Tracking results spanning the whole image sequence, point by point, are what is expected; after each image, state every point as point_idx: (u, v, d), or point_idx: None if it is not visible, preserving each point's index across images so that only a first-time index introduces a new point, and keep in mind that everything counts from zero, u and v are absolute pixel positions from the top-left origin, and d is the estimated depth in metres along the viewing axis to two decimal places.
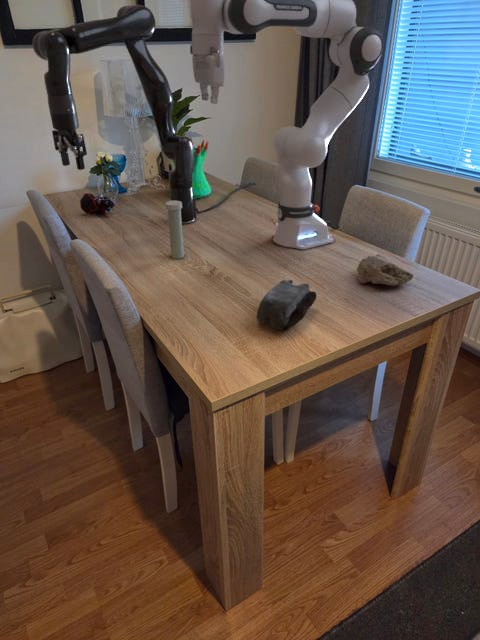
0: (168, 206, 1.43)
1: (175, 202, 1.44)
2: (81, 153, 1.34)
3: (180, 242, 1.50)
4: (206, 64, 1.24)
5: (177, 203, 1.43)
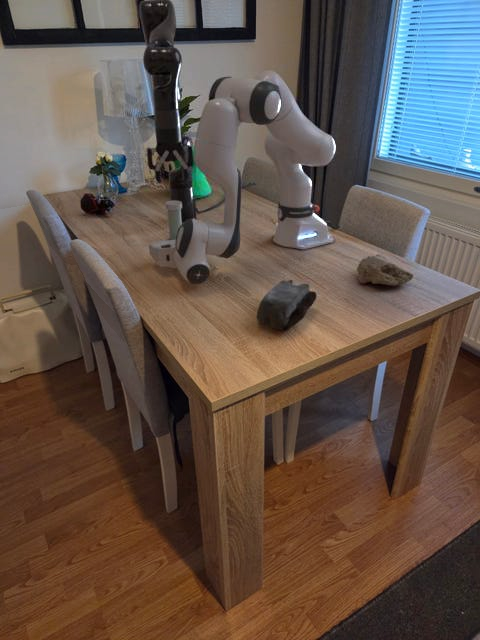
0: (168, 206, 1.43)
1: (175, 202, 1.44)
2: None
3: None
4: None
5: (177, 203, 1.43)
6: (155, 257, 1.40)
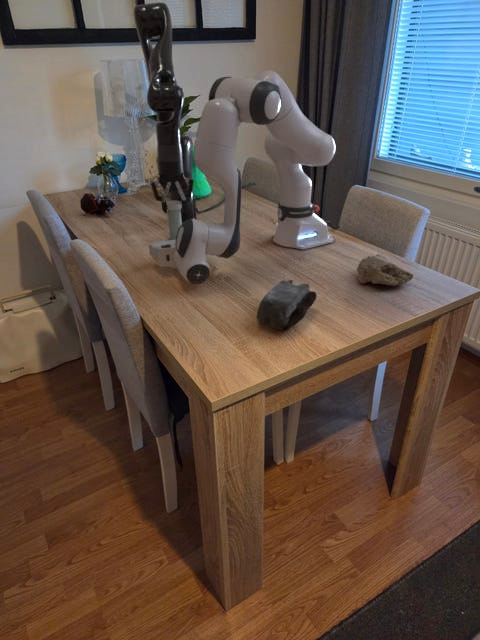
0: (168, 206, 1.43)
1: (175, 202, 1.44)
2: None
3: None
4: None
5: (177, 203, 1.43)
6: (155, 257, 1.40)
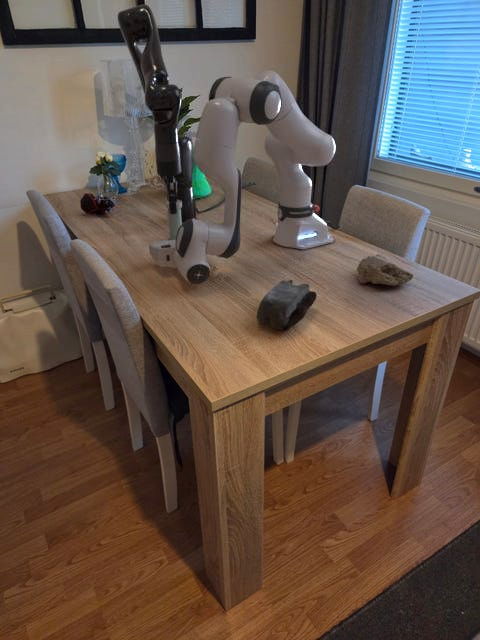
0: (181, 204, 1.43)
1: None
2: None
3: None
4: None
5: None
6: (155, 257, 1.40)
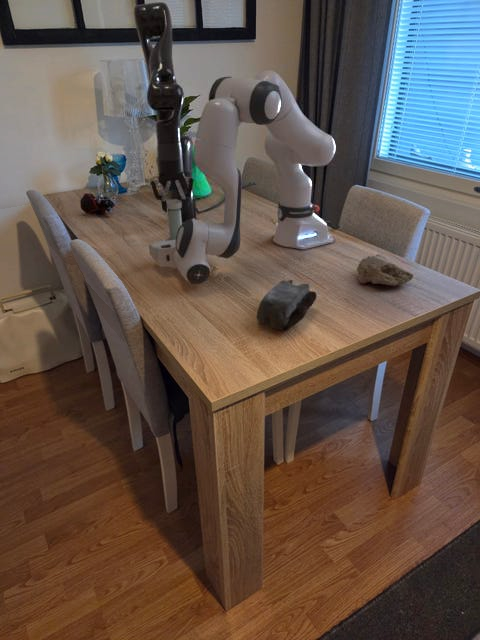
0: (181, 204, 1.43)
1: (172, 201, 1.44)
2: None
3: None
4: None
5: (174, 200, 1.45)
6: (155, 257, 1.40)
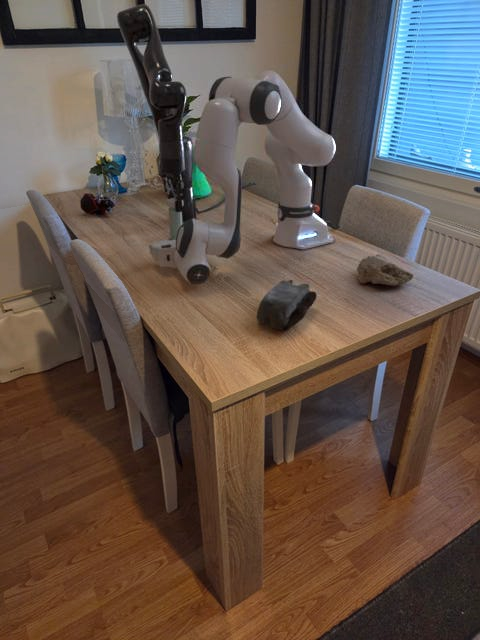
0: None
1: (173, 200, 1.43)
2: None
3: None
4: None
5: (170, 200, 1.44)
6: (155, 257, 1.40)
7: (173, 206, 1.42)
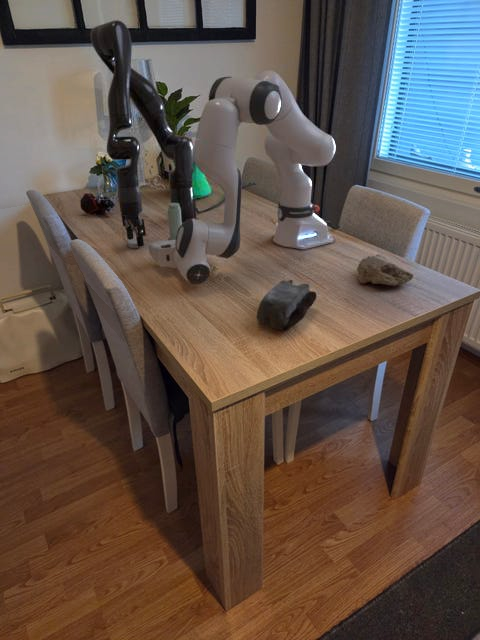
0: None
1: (134, 241, 1.61)
2: None
3: None
4: None
5: (130, 241, 1.61)
6: (155, 257, 1.40)
7: (134, 247, 1.60)
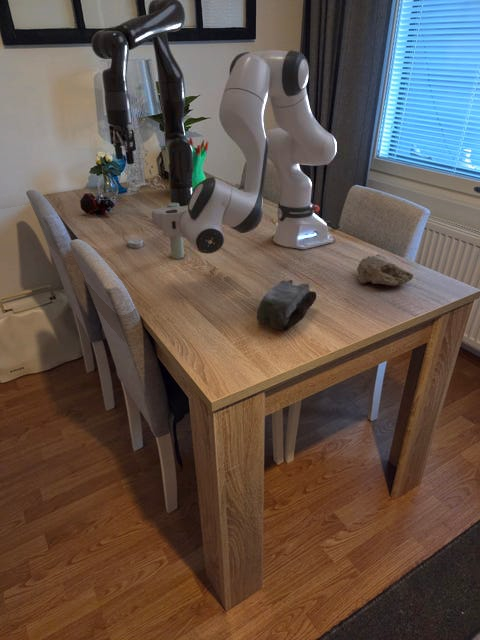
0: None
1: (134, 241, 1.61)
2: None
3: (180, 242, 1.50)
4: None
5: (130, 241, 1.61)
6: (159, 225, 1.22)
7: (134, 247, 1.60)
